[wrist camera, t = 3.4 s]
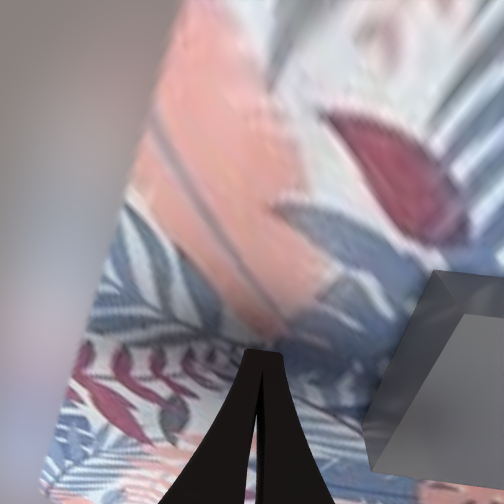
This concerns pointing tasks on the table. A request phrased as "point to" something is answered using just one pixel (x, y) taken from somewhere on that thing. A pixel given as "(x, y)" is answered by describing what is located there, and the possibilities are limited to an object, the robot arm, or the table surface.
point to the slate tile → (445, 388)
